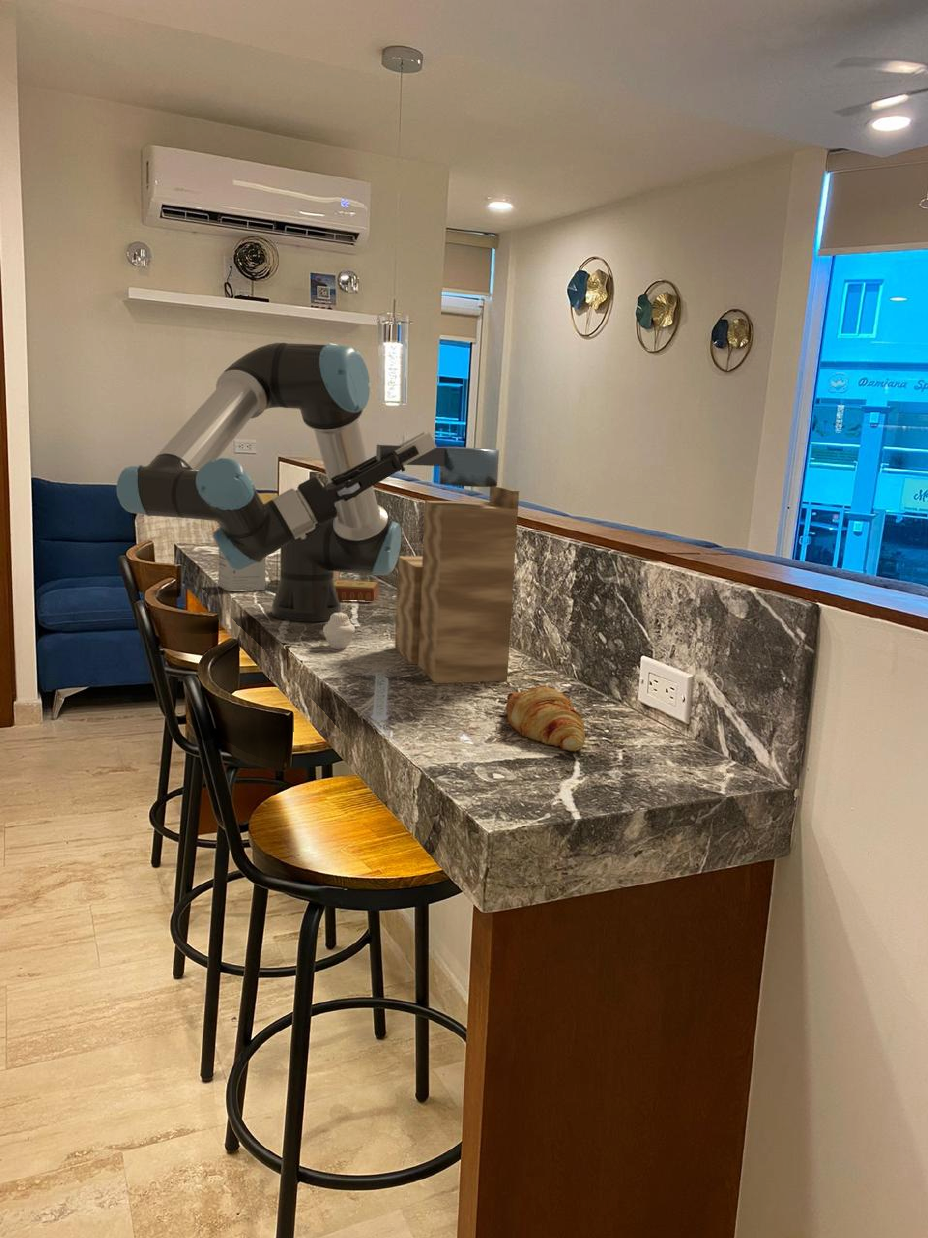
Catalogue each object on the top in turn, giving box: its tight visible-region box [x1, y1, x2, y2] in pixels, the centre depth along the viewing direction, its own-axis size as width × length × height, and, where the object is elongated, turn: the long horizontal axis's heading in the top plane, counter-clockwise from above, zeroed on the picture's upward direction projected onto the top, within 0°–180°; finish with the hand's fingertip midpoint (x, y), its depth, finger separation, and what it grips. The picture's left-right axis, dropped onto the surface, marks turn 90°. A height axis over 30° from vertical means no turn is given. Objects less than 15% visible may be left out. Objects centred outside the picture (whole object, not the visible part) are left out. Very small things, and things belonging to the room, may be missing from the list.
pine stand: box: [394, 485, 520, 684], centre depth 170 cm, size 26×14×33 cm, turn 17°
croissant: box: [505, 685, 586, 752], centre depth 137 cm, size 21×10×8 cm, turn 25°
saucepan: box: [375, 444, 500, 488], centre depth 158 cm, size 10×21×6 cm, turn 107°
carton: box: [334, 579, 379, 601], centre depth 230 cm, size 8×16×4 cm, turn 88°
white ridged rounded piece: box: [322, 612, 356, 650], centre depth 181 cm, size 6×6×7 cm
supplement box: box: [217, 524, 267, 592], centre depth 234 cm, size 10×9×17 cm
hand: (429, 439), depth 157 cm, fingers closed on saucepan, 3 cm apart
